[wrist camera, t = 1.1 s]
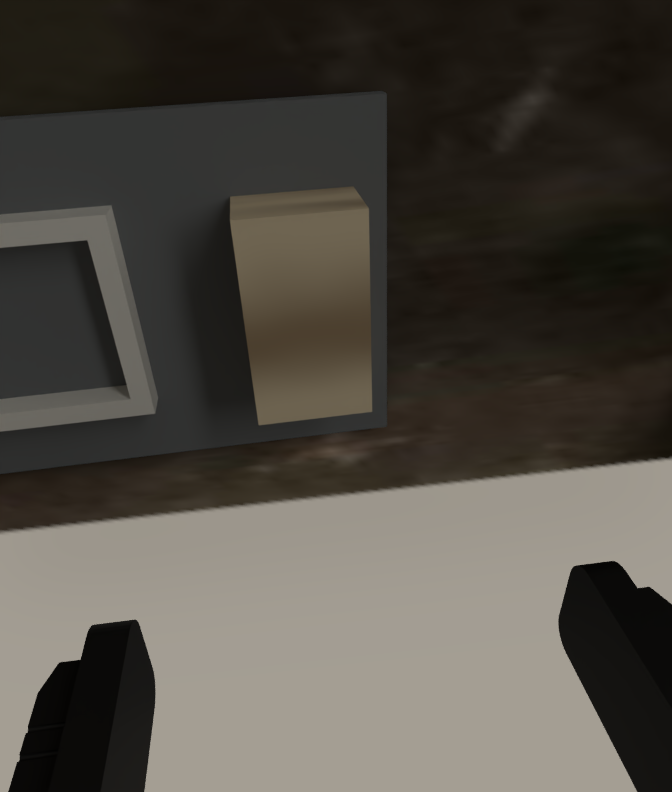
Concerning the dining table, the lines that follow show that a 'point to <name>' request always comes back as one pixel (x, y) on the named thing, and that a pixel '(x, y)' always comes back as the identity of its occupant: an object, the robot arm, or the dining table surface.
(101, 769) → the robot arm
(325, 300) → the tan rectangular block
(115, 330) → the slot frame
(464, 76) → the dining table surface
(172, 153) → the mat
